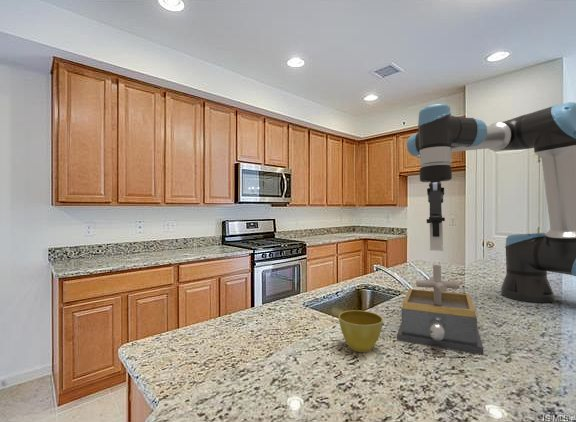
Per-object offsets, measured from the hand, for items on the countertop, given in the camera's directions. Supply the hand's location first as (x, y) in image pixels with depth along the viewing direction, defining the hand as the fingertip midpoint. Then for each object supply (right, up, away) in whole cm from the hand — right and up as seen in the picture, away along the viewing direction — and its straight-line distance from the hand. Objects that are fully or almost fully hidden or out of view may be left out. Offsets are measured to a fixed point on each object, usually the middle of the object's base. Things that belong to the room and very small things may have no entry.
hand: (437, 247), depth 79 cm
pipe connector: (0, -15, 0) cm, 15 cm away
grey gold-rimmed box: (-1, -22, -2) cm, 22 cm away
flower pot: (-22, -23, -8) cm, 33 cm away
